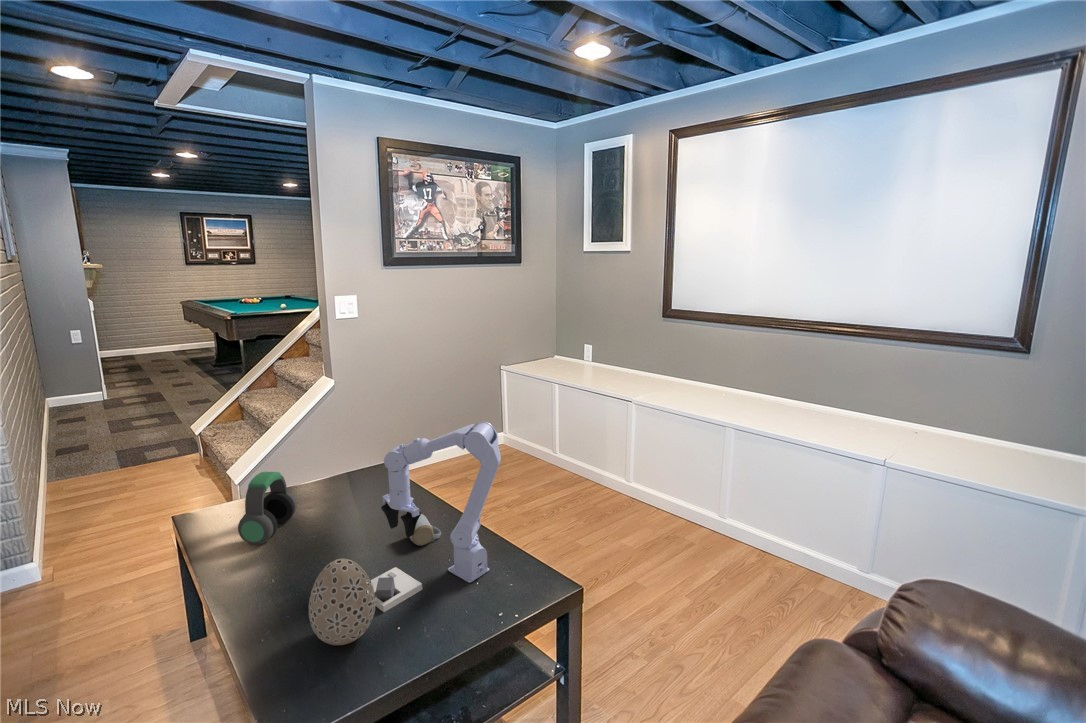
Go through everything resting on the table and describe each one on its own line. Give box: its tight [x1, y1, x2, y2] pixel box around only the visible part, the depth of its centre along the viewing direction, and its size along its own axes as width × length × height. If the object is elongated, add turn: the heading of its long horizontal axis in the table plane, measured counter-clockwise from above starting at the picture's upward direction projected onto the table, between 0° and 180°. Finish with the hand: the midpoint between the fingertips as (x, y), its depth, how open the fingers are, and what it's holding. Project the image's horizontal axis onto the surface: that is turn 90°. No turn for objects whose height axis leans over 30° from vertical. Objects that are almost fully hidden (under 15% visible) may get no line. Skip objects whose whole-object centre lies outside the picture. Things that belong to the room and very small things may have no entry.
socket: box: [367, 566, 423, 613], centre depth 142 cm, size 12×12×2 cm
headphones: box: [237, 471, 298, 546], centre depth 170 cm, size 19×11×20 cm, turn 179°
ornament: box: [308, 558, 376, 646], centre depth 123 cm, size 15×15×20 cm
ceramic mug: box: [403, 513, 442, 547], centre depth 167 cm, size 11×8×8 cm
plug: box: [376, 577, 395, 602], centre depth 138 cm, size 4×4×5 cm
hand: (402, 531), depth 153 cm, fingers open, 7 cm apart
